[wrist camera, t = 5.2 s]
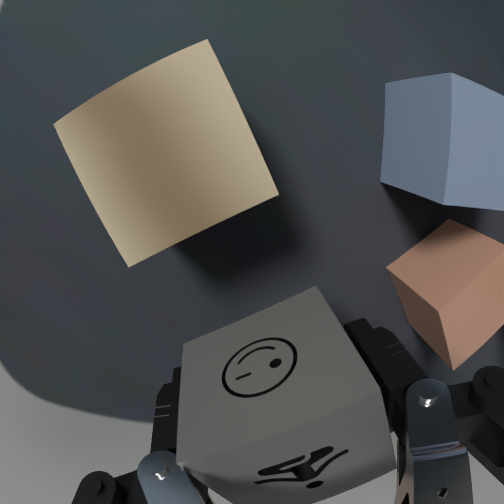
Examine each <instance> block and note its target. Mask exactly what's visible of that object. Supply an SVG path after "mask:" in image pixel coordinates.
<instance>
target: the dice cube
mask: <svg viewBox="0 0 504 504" xmlns="http://www.w3.org/2000/svg"><path fill="white" fill-rule="evenodd" d="M176 464H178V465H179V466H182V467H183V468H184V469H185V470H186V471H187V472H188V473H189V474H191V475H192V476H193V477H195V478H196V479H198V480H199V481H200V482H202V483H203V484H205V485H206V486H207V487H209V488H210V489H212V490H213V491H215V492H216V493H218V494H219V495H221V496H222V497H224V498H225V499H227V500H228V501H230V502H231V503H233V504H312V503H315V502H318V501H321V500H324V499H327V498H330V497H332V496H335V495H337V494H340V493H343V492H345V491H348V490H350V489H352V488H355V487H357V486H359V485H362V484H364V483H367V482H369V481H371V480H373V479H375V478H378V477H379V476H382V475H384V474H386V473H388V472H390V471H392V470H394V469H396V468H397V466H396V460H395V455H394V450H393V445H392V439H391V435H390V430H389V425H388V420H387V416H386V411H385V407H384V402H383V398H382V394H381V390H380V387H379V386H378V384H377V382H376V381H375V379H374V377H373V376H372V374H371V373H370V371H369V369H368V368H367V366H366V364H365V363H364V361H363V359H362V358H361V356H360V355H359V353H358V351H357V350H356V348H355V347H354V345H353V343H352V342H351V340H350V339H349V337H348V335H347V334H346V332H345V331H344V329H343V327H342V326H341V324H340V323H339V321H338V319H337V318H336V316H335V315H334V313H333V312H332V310H331V309H330V307H329V305H328V304H327V302H326V301H325V299H324V298H323V296H322V294H321V293H320V291H319V290H318V288H317V287H316V286H314V287H312V288H310V289H308V290H306V291H303V292H301V293H299V294H297V295H295V296H293V297H290V298H288V299H286V300H284V301H282V302H280V303H277V304H275V305H273V306H271V307H268V308H266V309H264V310H262V311H259V312H257V313H255V314H253V315H250V316H248V317H246V318H244V319H241V320H239V321H237V322H234V323H232V324H230V325H227V326H225V327H223V328H220V329H218V330H216V331H213V332H211V333H208V334H206V335H204V336H201V337H199V338H196V339H194V340H191V341H189V342H186V343H184V345H183V357H182V369H181V381H180V395H179V411H178V428H177V449H176Z"/></svg>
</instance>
